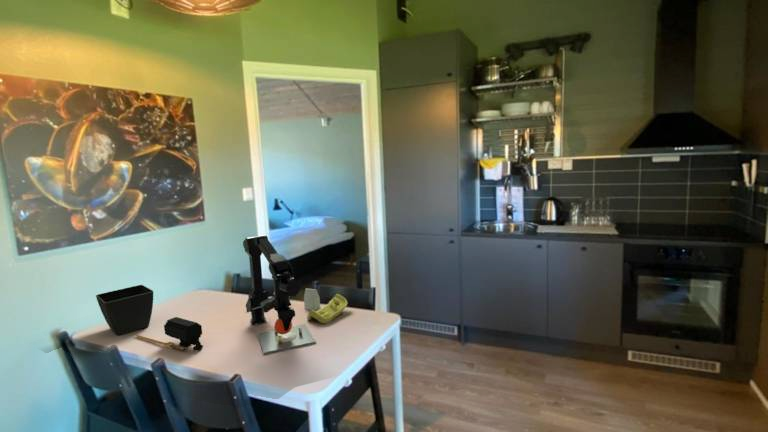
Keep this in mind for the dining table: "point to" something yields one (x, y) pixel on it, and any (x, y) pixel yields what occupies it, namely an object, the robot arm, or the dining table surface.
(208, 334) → the dining table surface
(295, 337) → the nest plate
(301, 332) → the brass pins
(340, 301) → the plastic component
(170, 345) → the katana
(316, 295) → the tea bag
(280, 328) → the clementine
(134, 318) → the flower pot
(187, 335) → the security camera
